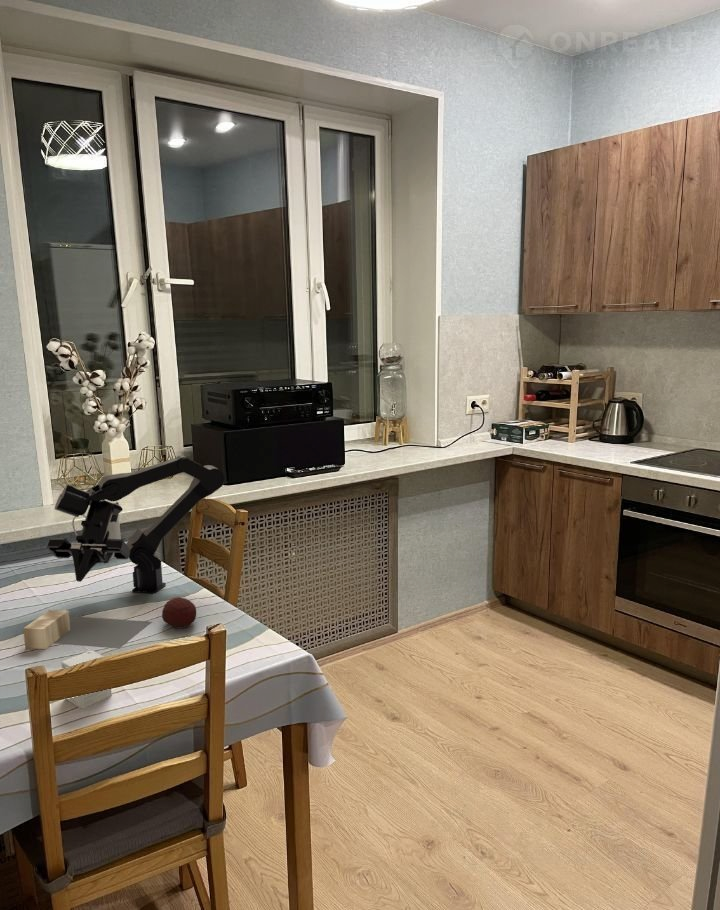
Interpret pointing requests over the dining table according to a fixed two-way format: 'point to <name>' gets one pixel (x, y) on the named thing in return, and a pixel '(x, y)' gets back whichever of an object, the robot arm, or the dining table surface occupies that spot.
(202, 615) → the dining table surface
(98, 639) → the charcoal rubber mat
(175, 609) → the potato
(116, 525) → the glass holder
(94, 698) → the product box
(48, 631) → the birch block
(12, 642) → the dining table surface
